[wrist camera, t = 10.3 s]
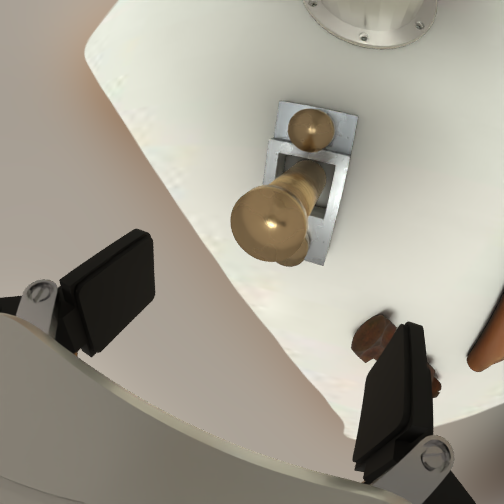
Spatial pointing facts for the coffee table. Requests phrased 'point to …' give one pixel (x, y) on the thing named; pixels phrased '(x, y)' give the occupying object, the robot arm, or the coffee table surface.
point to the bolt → (380, 343)
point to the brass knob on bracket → (316, 148)
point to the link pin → (278, 212)
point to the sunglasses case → (489, 342)
